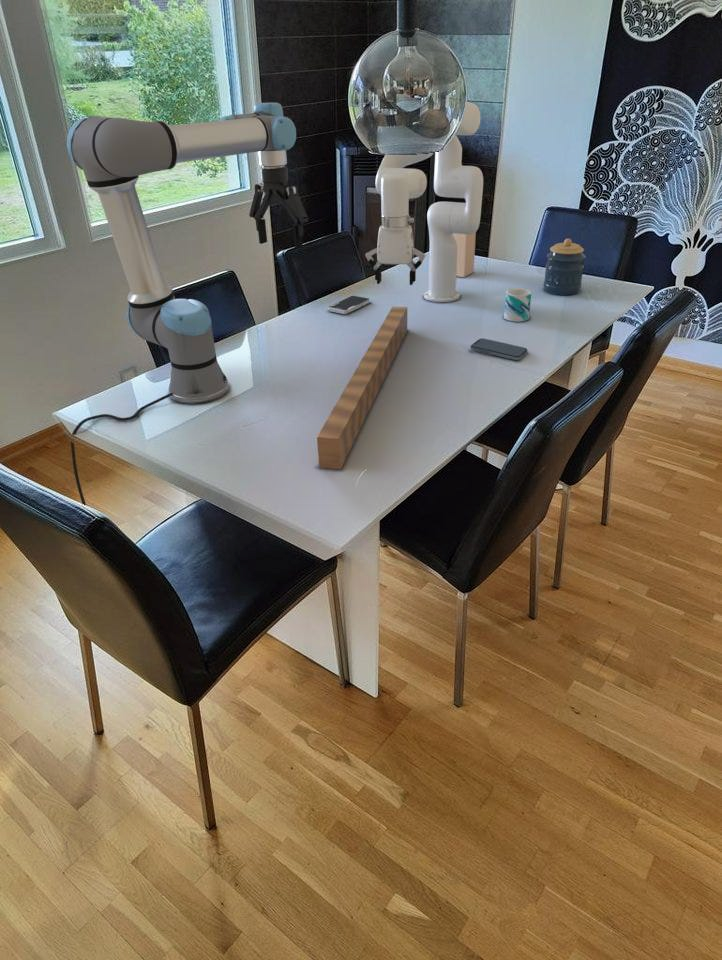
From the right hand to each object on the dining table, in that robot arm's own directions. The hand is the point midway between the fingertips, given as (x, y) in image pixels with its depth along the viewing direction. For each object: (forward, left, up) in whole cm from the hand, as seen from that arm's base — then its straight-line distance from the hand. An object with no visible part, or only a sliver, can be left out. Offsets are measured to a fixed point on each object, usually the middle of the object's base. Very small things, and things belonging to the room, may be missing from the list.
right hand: (395, 283), depth 196 cm
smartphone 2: (0, +32, -17) cm, 36 cm away
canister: (-64, +38, -17) cm, 76 cm away
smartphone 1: (-22, -26, -17) cm, 38 cm away
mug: (-32, +30, -17) cm, 47 cm away
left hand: (+7, -33, +10) cm, 36 cm away
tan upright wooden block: (-74, -3, -17) cm, 76 cm away
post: (+34, +7, -17) cm, 38 cm away
